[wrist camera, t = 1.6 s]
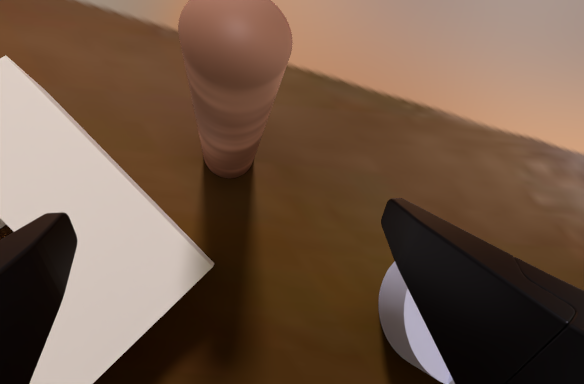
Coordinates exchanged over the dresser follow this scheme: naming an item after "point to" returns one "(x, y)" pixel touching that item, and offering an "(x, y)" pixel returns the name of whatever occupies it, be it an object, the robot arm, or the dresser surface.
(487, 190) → the dresser surface
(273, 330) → the dresser surface
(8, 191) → the hole block
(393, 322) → the wedge on round base
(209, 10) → the peg
